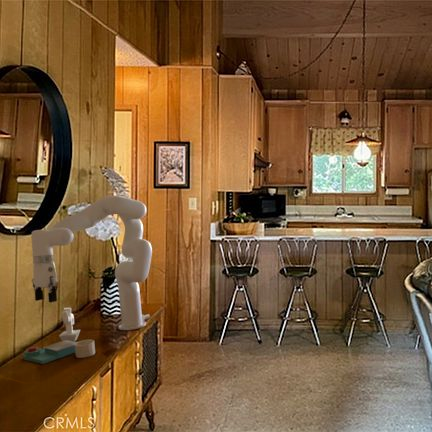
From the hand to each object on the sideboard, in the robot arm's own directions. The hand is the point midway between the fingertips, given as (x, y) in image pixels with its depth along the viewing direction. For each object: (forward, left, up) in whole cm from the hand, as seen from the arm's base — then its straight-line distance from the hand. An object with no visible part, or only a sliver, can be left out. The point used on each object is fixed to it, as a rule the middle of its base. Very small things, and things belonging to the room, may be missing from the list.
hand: (46, 300), depth 202 cm
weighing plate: (-1, +6, -22) cm, 23 cm away
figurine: (-13, -7, -22) cm, 27 cm away
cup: (-4, +17, -22) cm, 28 cm away
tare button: (+7, -2, -19) cm, 20 cm away
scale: (+2, +3, -22) cm, 22 cm away
